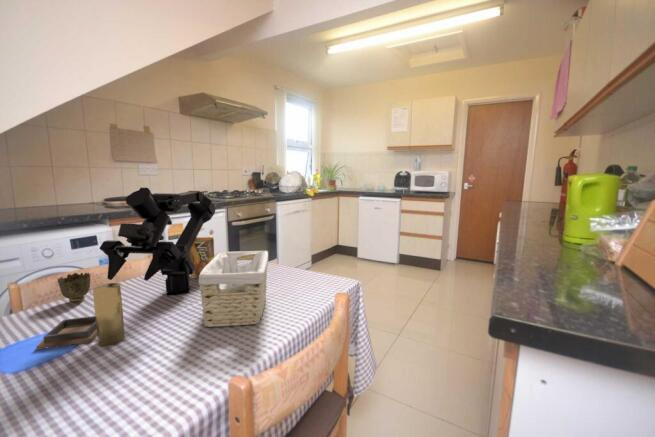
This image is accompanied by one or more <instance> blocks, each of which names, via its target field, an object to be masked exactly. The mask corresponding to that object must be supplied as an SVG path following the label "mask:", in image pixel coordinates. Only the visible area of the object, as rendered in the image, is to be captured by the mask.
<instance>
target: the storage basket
mask: <svg viewBox="0 0 655 437" xmlns="http://www.w3.org/2000/svg"><path fill="white" fill-rule="evenodd" d="M238 261H251V262H249V263H245V264H243V265H238ZM268 266H269V251H268V250H245V251H243V250H242V251H241V250H239V251H221V252H220V253H218V254H216V255H214V258H213V259H212V260H211V261H210V262H209V264H207V265H206V266H205V267H204V268H203V270H202V271H201V273H200V275H199V278H198V284H199V292H200V297H201V307H202V313H203V315H202V317H203V325H204V326H205V327H209V328H210V327H216V328H218V327H230V326H233V327H237V326H249V325H257V324H259V323H260V321H261V318H262V315H263V310H264V308H265V304H266V295H267V289H268V288H267V279H268V274H267V273H268V272H267V271H268Z"/></svg>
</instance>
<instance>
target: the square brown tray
mask: <svg viewBox="0 0 655 437" xmlns="http://www.w3.org/2000/svg"><path fill="white" fill-rule="evenodd" d="M42 338H43V340H42V341H41V342H39V343H38V344H37V345H36V350H37V349H38V350H42V349H41V348H45V349H50V348H49V347H52V348H57V347H56V346H59V347H64V346H63V345H66V346H72V345H71V344H74V345H79V344H86V343H92V342H94V340H96V338H97V328H96V318H95V315H94V316H93V315H92V316H83V317H77V318H76V317H75V318H74V317H73V318H67V319H65V318H64V319H62V321H61V322H59V323H57V325H56V326H55V327H53V328H52V329H51V330H50V331H49V332H47V333H46V334H45V335H44V336H42ZM46 347H48V348H46Z"/></svg>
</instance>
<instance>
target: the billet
mask: <svg viewBox="0 0 655 437" xmlns="http://www.w3.org/2000/svg"><path fill="white" fill-rule="evenodd" d="M121 288H122V287H121V283H118V282H112V283H105V284H104V283H103V284H100V285H98V286H95V287H93V288H92V296H93V298H92V299H93V307H94V308H93V309H94V316H95V318H96V328H97V337H96V338H97V345H98V346H100V347H109V346H110V347H111V346H114V345H117V344H119V343H121V342H122V341H124V340H125V338H126V333H125V323H124V322H125V321H124V312H123V311H124V310H123V300H122V289H121Z"/></svg>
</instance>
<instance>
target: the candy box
mask: <svg viewBox="0 0 655 437" xmlns="http://www.w3.org/2000/svg"><path fill="white" fill-rule="evenodd" d="M189 254H190V258H191V261H192V263H193V264H194V265H195V269H194V272H193V274H190V279H199V275H200V273H201V271H202V270H203V268H204V267H205V266H206V265H207V264H209V262H210V261H211V260H212V259H213V258H214V257H215V240H214V236H213V235H209V236H208V235H207V236H204V235H203V236H197V237H196V239H195V241H194V243H193V245H192V247H191V249H190V251H189Z"/></svg>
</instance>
